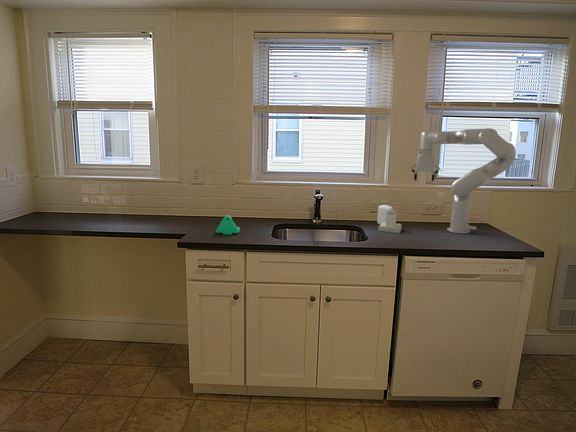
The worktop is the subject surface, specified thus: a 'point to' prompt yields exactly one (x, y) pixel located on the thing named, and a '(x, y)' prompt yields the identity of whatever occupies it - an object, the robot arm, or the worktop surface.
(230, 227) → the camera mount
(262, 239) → the worktop surface
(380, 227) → the stand
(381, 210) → the photo printer
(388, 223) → the housing
